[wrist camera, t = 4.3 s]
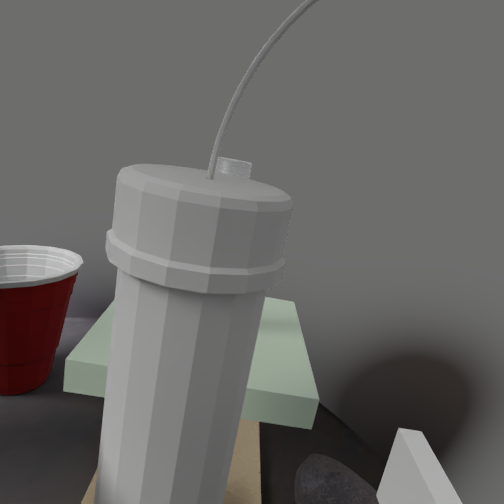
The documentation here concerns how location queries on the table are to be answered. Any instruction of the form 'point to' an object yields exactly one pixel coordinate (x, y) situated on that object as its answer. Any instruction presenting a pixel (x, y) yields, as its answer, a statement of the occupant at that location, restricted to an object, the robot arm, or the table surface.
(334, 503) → the perforated stone tool
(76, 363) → the pale mint square tile
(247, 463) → the post stand
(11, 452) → the table surface
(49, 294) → the plastic cup
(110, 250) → the pipe
